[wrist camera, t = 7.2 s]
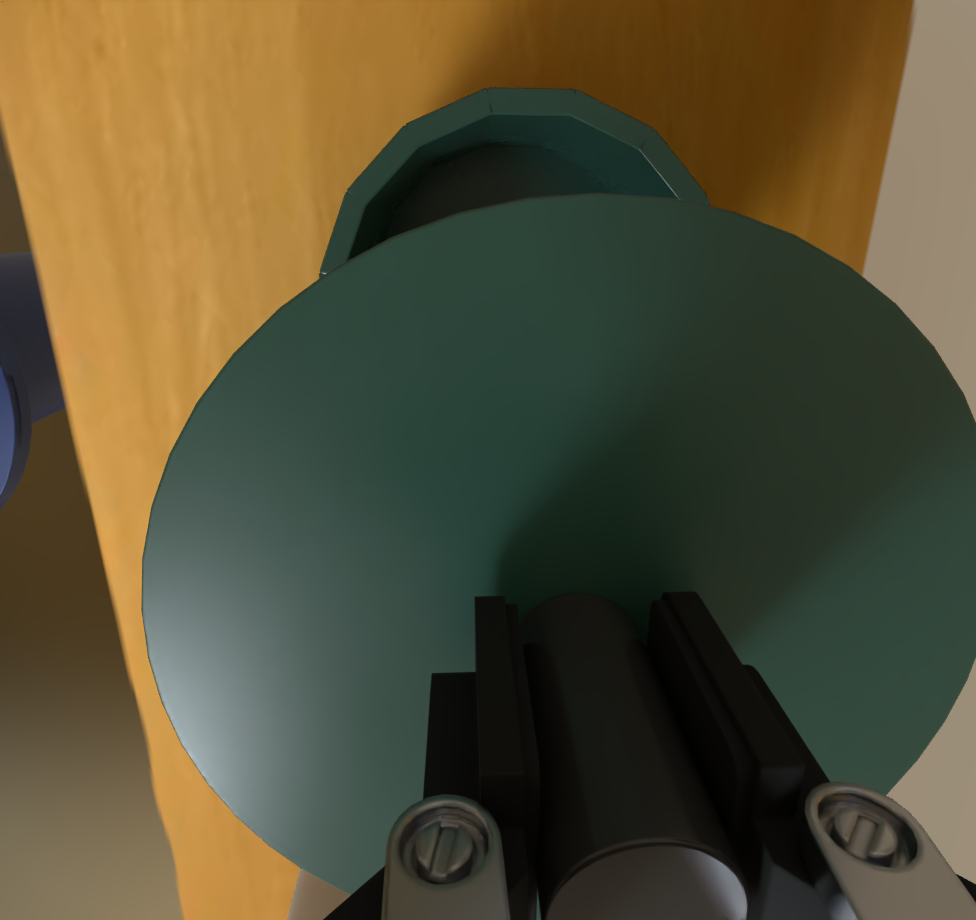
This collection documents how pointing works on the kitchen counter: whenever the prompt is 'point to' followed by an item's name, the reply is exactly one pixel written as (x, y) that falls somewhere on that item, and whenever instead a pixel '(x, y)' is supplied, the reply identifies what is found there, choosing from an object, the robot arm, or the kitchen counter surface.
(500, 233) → the tin lid
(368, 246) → the tin
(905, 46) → the kitchen counter surface
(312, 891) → the can
